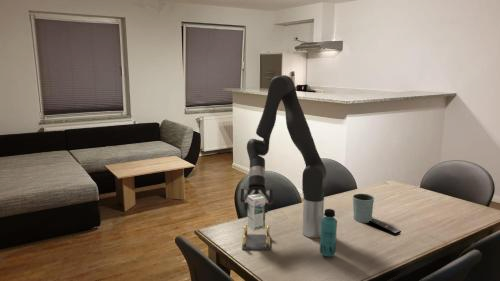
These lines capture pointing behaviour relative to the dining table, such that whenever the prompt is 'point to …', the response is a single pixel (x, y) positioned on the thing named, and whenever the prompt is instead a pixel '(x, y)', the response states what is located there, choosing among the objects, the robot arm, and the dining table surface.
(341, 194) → the dining table surface
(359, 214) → the teal cup
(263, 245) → the chassis plate
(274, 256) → the dining table surface
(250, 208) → the syrup box
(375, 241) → the dining table surface
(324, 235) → the beverage bottle
